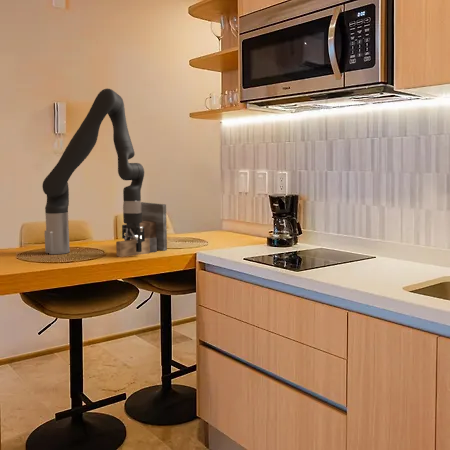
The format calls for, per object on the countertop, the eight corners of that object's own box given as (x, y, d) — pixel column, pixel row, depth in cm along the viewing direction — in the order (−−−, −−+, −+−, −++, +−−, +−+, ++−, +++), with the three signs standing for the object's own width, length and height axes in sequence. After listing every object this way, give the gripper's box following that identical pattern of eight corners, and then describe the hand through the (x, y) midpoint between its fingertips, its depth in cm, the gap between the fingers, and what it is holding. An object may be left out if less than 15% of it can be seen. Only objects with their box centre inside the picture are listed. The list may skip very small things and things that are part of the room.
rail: (120, 256, 219) (119, 242, 218) (116, 256, 221) (116, 241, 220) (157, 252, 230) (157, 238, 229) (154, 251, 232) (153, 237, 232)
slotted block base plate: (148, 252, 229) (146, 205, 226) (124, 247, 244) (123, 203, 242) (166, 250, 235) (166, 204, 232) (142, 245, 250) (141, 202, 248)
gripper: (115, 211, 225) (117, 249, 227) (133, 213, 214) (134, 253, 216) (131, 210, 230) (132, 247, 232) (149, 212, 219) (150, 251, 221)
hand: (133, 250), depth 224 cm, fingers open, 8 cm apart
